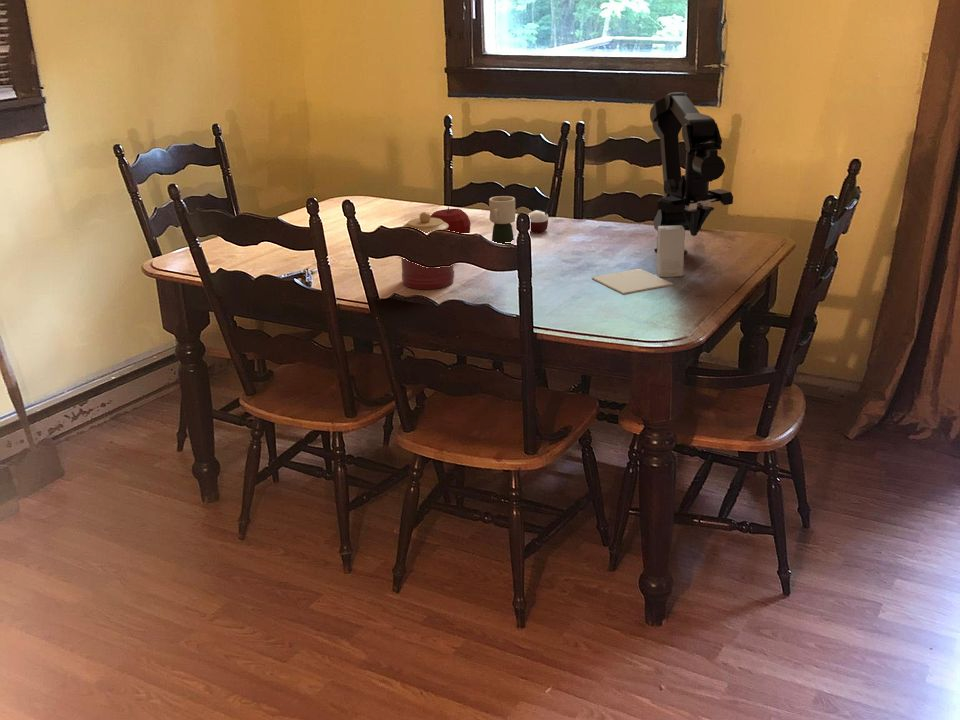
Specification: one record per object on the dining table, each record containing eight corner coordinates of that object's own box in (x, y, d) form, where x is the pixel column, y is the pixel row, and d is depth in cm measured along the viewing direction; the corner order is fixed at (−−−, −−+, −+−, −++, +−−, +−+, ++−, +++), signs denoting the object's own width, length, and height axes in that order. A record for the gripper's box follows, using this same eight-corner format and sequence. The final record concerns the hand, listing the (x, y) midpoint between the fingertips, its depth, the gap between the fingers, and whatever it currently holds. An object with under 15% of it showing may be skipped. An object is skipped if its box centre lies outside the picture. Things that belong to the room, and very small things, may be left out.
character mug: (498, 238, 267) (497, 193, 262) (522, 240, 264) (521, 195, 259) (483, 248, 257) (482, 202, 252) (507, 251, 255) (506, 204, 250)
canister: (465, 281, 231) (462, 211, 224) (426, 294, 223) (422, 221, 216) (430, 271, 240) (426, 203, 233) (391, 283, 231) (386, 213, 225)
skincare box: (680, 271, 233) (682, 224, 228) (683, 277, 229) (686, 228, 224) (655, 272, 233) (657, 224, 228) (658, 277, 229) (660, 229, 224)
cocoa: (520, 234, 272) (517, 193, 267) (529, 228, 277) (526, 188, 272) (550, 236, 268) (547, 194, 263) (558, 230, 273) (556, 189, 268)
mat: (639, 270, 235) (639, 268, 235) (672, 284, 223) (672, 283, 223) (591, 278, 230) (591, 277, 230) (623, 294, 218) (623, 292, 218)
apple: (454, 246, 260) (452, 199, 255) (480, 255, 252) (479, 206, 247) (419, 255, 253) (416, 207, 248) (444, 264, 245) (442, 214, 240)
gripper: (707, 162, 234) (703, 223, 240) (645, 170, 227) (643, 233, 233) (736, 169, 225) (732, 233, 231) (673, 178, 218) (670, 243, 224)
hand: (693, 235), depth 230 cm, fingers closed
